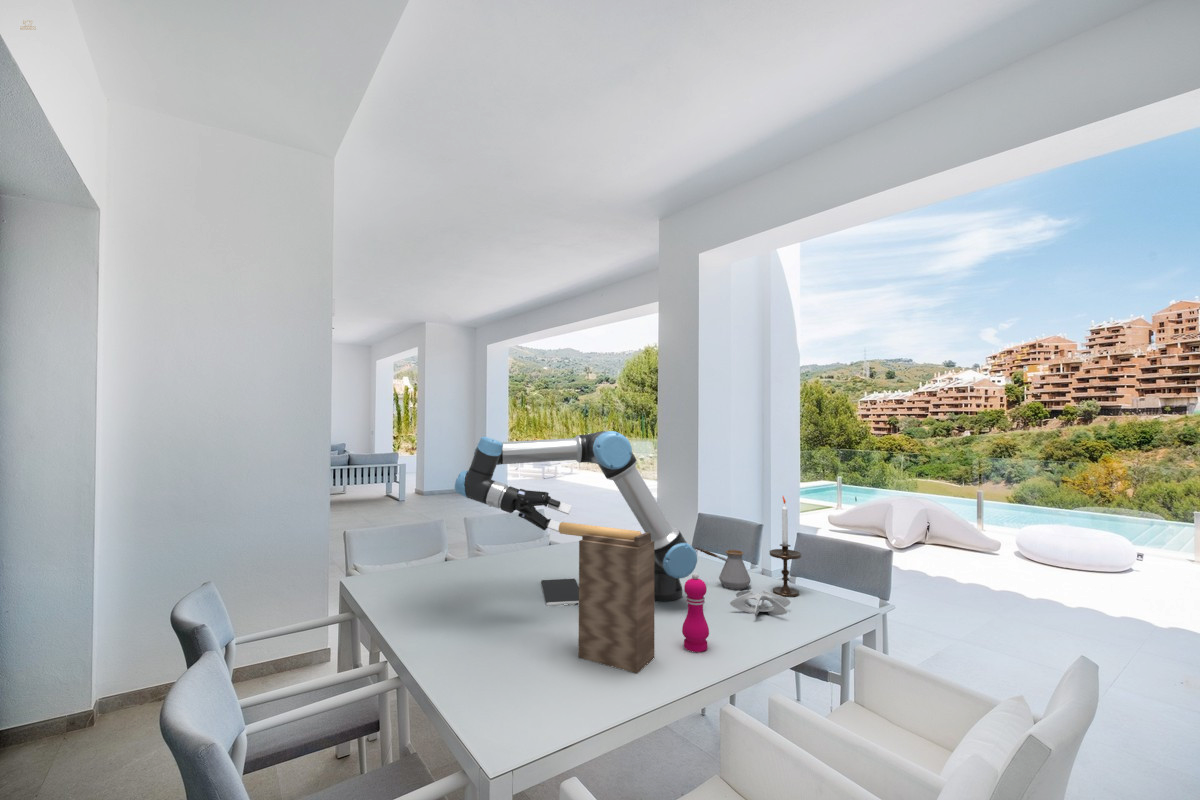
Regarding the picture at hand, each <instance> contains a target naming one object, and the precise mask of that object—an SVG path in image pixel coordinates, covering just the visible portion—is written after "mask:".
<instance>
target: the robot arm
mask: <svg viewBox="0 0 1200 800" xmlns="http://www.w3.org/2000/svg"><path fill="white" fill-rule="evenodd" d="M563 461H565V462H566V461H567V462H568V461H576V462H577V463H580V464H581V463H582V464H583V463H588V464H595V465H598V467H599V468H600V470H601V472H602V474H603V475H604V477H605V478H606V479H607V480H610V481H613V482H614V484H615V486H616V487H617V490H618V491H619V493H620V494H621V496H622V497H623V499H624V500H625V502H626V503H627V506H628V507H629V509H630V511H631V512H632V514H633V515H634V517H635V519H636V521H638V524H639V525H640V526H641V528H642V530H643V531H644V533H646V532H649V533H651V541H654V601H657V602H658V601H659V602H669V601H671V602H672V601H677V600H679V599H681V598H682V597H683V593H684V592H683V587H682V583H681V579H685V578H686V577H688V576H690V575H692V574H693V573H694V571H695V569H696V566H697V563H698V555H697V552H696V549H695V548H694V547H693V546H692V545H691V544H689V543H688V542H687V541H686V539H685V537H684V536H683V534H682V532H681V531H680V529H679V528H677V527H675V526H672V525H671V523H670V522H669V519H668V518H667V517H666V515H665V513H664V512H663V510H662V508H661V507H660V505H659V503H658V502H657V500H656V498H655V497H654V495H653V494H652V492H651V490H650V488H649V487H648V485H647V484H646V482H645V479H644V478H643V477H642V476H641V473H640V472H639V469H637V467H636V465H637V462H638V460H637V458H636V456H635V455H634V452H633V448H632V445H631V442H630V440H629V439H628V438H627V437H626V436H625V435H624V434H622V433H620V432H617V431H615V430H609V431H607V430H605V431H604V430H603V431H602V430H601V431H596V432H593V433H592V432H591V433H586V434H577V435H576V436H575V437H572V438H571V437H570V438H569V437H568V438H552V439H535V440H517V441H515V440H513V441H500V440H497V439H494V438H491V437H487V436H481V437H480V439H479V441H478V443H477V445H476V448H475V449H474V453H473V458H472V461H471V464H470V466H469V468H468V470H462V471H461V472H460V473H458V476H457V478H456V480H455V484H454V492H456V494H458V495H460V496H463V497H465V498H466V499H468V500H473V501H475V502H479V503H481V504H485V505H488V508H489V507H490V508H491V507H493V508H495V509H498V510H499V509H500V510H501V511H504V512H506V513H509V514H513V513H514V512H515V511H518V512H519V513H518V515H517V516H518V517H519V518H521V519H524V520H526V522H529V523H531V524H533V525H534V526H536V527H537V528H539V529H541V530H542V531H546V530H547V529H550V530H551V531H554V532H558V533H559V525H560V523H561V522H559V521H558V520H557V521H556V520H554V519H551V518H547V517H546V516H545V515H543V514H542V513H540V511H538V510H537V508H536V507H538V506H539V507H540V506H541V507H542V506H544V507H545V508H549V509H551V510H554V511H557V512H560V513H563V514H566V515H567V516H568V515H569V514H570V512H571V510H572V508H573V505H571V504H568V503H567V502H563V501H560V500H557V499H554V498H552V497H551V496H550V495H549V494H550V493H549V492H547V491H540V490H539V491H538V490H529V489H528V490H527V489H524V488H516V487H513V486H511V485H510V486H508V484H506V483H503V482H500V481H496V480H494V479H493V476H494V473H495V470H496V467H497V466H499V465H513V464H514V465H515V464H529V463H533V464H534V463H545V462H563ZM565 535H567V534H565Z"/></svg>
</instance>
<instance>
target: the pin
mask: <svg viewBox="0 0 1200 800" xmlns="http://www.w3.org/2000/svg"><path fill="white" fill-rule="evenodd" d="M558 533H559V534H561V535H566V534H567V535H568V536H575V537H582V535H584V534H589V535H597V536H605V537H612V538H620V539H628V540H634V537H636V536H639V535H641V534H642V532H641V530H640V531H639V530H635V529H634V530H633V529H625V528H624V529H623V528H616V527H608V526H607V527H606V526H597V525H589V524H582V523H575V522H565V521H562V522H560V525H559V532H558Z"/></svg>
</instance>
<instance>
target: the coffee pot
mask: <svg viewBox="0 0 1200 800" xmlns="http://www.w3.org/2000/svg"><path fill="white" fill-rule="evenodd" d="M694 550H695V552H696V553H697V552H698V551H700V552H701V553H702V552H703V553H704V554H706V555H708V556H711V557H714V558H717V559H719V560H722V561H724V565H723V567H722V569H721V571H720V574H719V577H718V579H719V582H720V583H721V584H722V585H723V586H724V588H726V589H730V590H735V591H737V590H738V591H739V590H744V589H746V588H747V587H748V586H749V585H750V583H751V582H752V581H751V577H750V574H749V573H748V570H747V567H746V566H745V563H744V560H743V555H744V552H743V551H742V550H737V549H728V550H726V551H725V553H726V556H727V558H726V557H723V556H720V555H718V554H716V553H713V552H711V551H709V550H705V549H704V548H699V547H695V548H694Z"/></svg>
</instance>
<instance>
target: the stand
mask: <svg viewBox="0 0 1200 800" xmlns="http://www.w3.org/2000/svg"><path fill="white" fill-rule="evenodd" d="M581 537H582V538H581V540H579V541H578V543H579V544H578V557H579V558H578V586H579V605H578V657H579V659H582V658H583V659H582V660H585V661H589V660H590V662H593V661H594V663H597V662H598V663H597V664H600V663H601V664H600V665H604V664H605V666H608V665H609V666H608V667H611V666H613V668H615V667H616V668H615V669H618V670H622V669H624V671H626V670H627V671H626V672H629V671H631V672H630V673H633V672H634V674H638V673H639V672H641V671H642V670H643V669H644V668H645V667H646V666H647V665H648V664H649V663H651V662H652V661H653V660H654V659H655V600H654V541H651V533H649V532H646V533H645V532H644V533H641V535H639V536H636V537H634V540H628V539H620V538H612V537H605V536H597V535H589V534H584V535H582V536H581ZM653 658H654V659H653ZM652 659H653V660H652ZM651 660H652V661H651ZM650 661H651V662H650ZM647 663H648V664H647ZM645 665H646V666H645ZM644 666H645V667H644ZM643 667H644V668H643ZM642 668H643V669H642ZM641 669H642V670H641Z"/></svg>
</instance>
